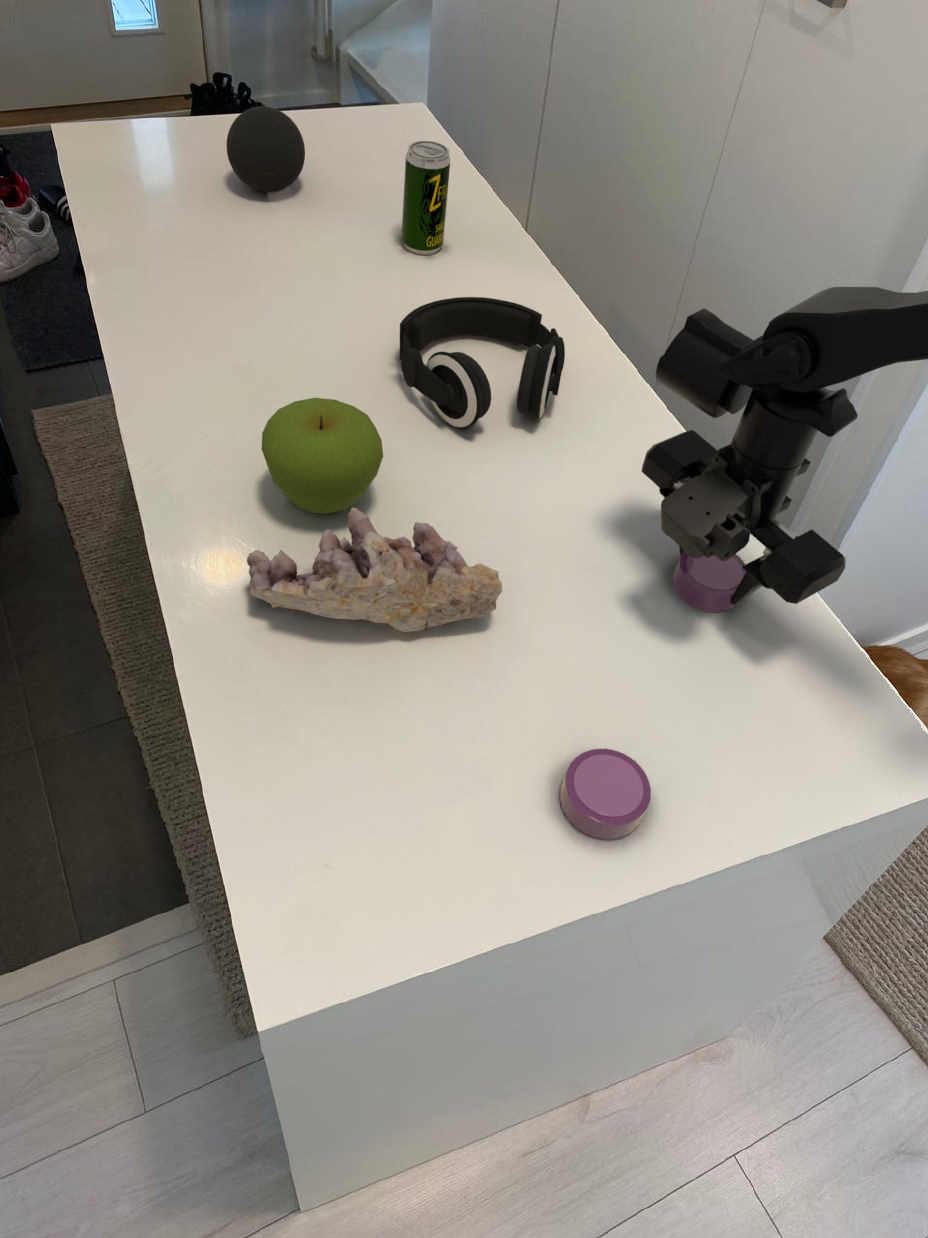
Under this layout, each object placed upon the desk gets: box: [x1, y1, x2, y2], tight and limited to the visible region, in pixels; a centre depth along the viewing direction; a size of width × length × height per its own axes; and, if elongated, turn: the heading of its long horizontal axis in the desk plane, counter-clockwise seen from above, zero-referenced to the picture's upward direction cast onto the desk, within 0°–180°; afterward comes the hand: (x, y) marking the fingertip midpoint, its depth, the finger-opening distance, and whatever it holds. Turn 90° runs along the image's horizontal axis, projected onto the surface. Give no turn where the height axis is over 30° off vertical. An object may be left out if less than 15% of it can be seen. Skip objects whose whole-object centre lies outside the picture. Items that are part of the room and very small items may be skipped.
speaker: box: [226, 106, 306, 193], centre depth 122 cm, size 10×10×10 cm
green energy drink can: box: [401, 140, 451, 256], centre depth 116 cm, size 5×5×12 cm
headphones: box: [399, 296, 566, 430], centre depth 100 cm, size 18×8×20 cm
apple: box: [261, 397, 384, 514], centre depth 85 cm, size 11×10×10 cm
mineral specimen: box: [246, 507, 503, 633], centre depth 78 cm, size 20×10×10 cm
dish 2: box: [672, 552, 746, 613], centre depth 86 cm, size 6×6×2 cm
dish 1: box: [559, 748, 652, 841], centre depth 70 cm, size 6×6×2 cm
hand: (709, 578), depth 86 cm, fingers closed on dish 2, 6 cm apart
